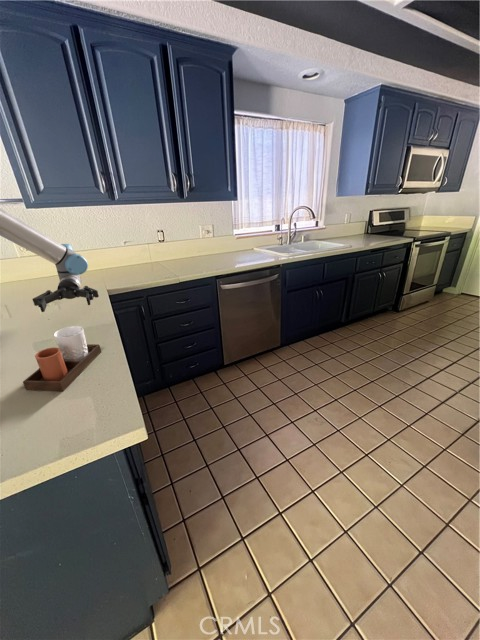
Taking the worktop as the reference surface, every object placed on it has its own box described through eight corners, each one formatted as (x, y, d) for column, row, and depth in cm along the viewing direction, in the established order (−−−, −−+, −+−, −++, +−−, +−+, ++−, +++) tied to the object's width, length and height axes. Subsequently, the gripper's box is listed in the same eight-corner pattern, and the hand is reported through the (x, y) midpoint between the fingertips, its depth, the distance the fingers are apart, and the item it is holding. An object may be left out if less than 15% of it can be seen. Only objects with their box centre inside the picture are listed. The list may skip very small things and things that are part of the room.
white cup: (94, 351, 90) (86, 325, 85) (86, 364, 83) (77, 336, 78) (69, 353, 88) (60, 326, 84) (58, 367, 81) (48, 338, 77)
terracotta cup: (40, 385, 74) (29, 358, 70) (54, 372, 80) (45, 347, 76) (60, 385, 74) (50, 358, 70) (73, 373, 79) (64, 347, 76)
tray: (26, 390, 72) (22, 381, 71) (71, 351, 91) (69, 343, 89) (63, 391, 72) (60, 382, 71) (101, 352, 90) (99, 344, 89)
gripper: (105, 291, 114) (108, 308, 97) (35, 301, 103) (24, 321, 86) (101, 274, 111) (103, 288, 94) (28, 282, 100) (16, 300, 83)
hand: (65, 304), depth 90 cm, fingers open, 13 cm apart
